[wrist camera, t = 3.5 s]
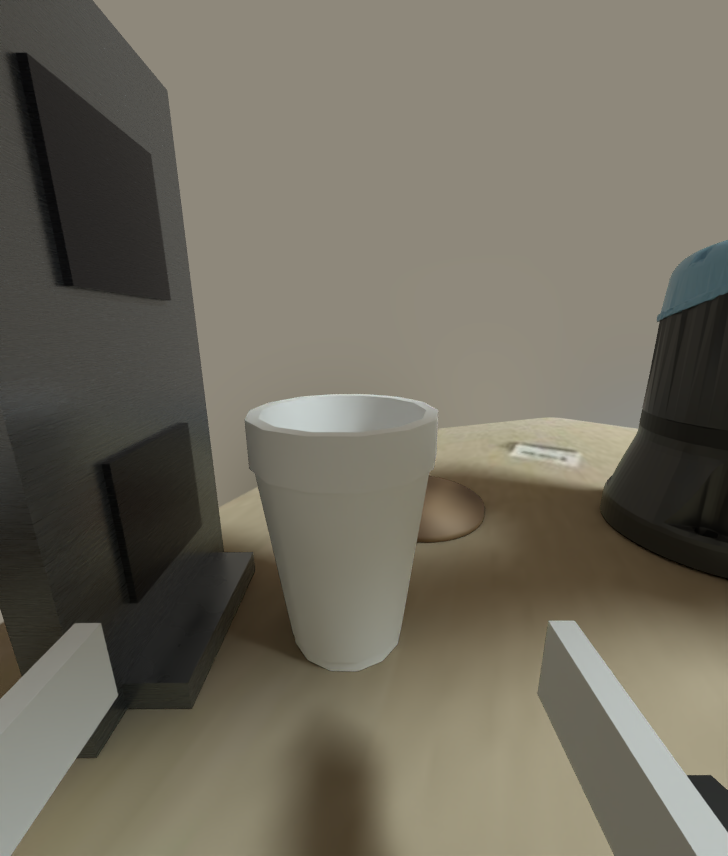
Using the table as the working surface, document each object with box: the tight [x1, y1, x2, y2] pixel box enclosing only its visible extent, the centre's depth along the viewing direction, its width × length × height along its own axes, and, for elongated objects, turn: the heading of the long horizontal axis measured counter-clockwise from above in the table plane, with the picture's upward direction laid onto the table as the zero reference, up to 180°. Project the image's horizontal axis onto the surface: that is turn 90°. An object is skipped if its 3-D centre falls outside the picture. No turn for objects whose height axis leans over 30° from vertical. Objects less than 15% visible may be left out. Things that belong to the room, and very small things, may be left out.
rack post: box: [0, 0, 255, 758], centre depth 18 cm, size 5×14×30 cm, turn 0°
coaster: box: [417, 476, 485, 542], centre depth 36 cm, size 13×13×1 cm
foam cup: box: [245, 394, 438, 671], centre depth 20 cm, size 10×9×13 cm
